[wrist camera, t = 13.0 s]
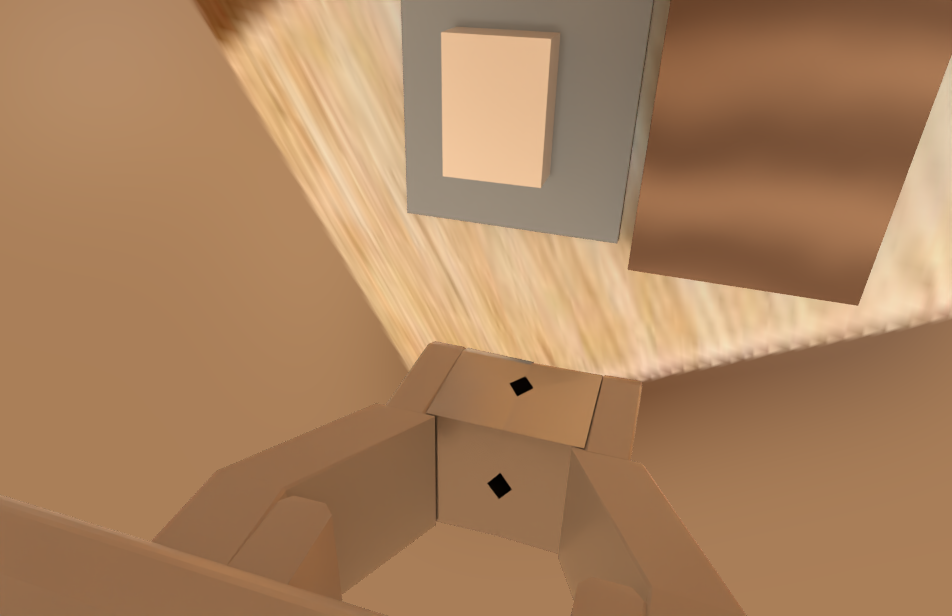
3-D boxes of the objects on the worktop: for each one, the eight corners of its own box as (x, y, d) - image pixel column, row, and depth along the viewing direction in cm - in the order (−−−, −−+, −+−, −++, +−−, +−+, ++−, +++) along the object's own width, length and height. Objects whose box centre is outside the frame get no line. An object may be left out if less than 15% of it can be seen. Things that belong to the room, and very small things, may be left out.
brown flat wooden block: (682, -51, 32) (678, -49, 29) (955, -42, 30) (985, -38, 26) (634, 242, 41) (627, 269, 37) (845, 272, 38) (857, 305, 34)
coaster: (551, 38, 33) (560, 32, 35) (441, 32, 35) (456, 26, 37) (541, 188, 37) (549, 174, 39) (442, 176, 39) (456, 163, 41)
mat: (404, -41, 37) (399, -40, 36) (658, -30, 33) (657, -29, 33) (410, 209, 44) (407, 212, 44) (618, 239, 41) (617, 243, 40)
